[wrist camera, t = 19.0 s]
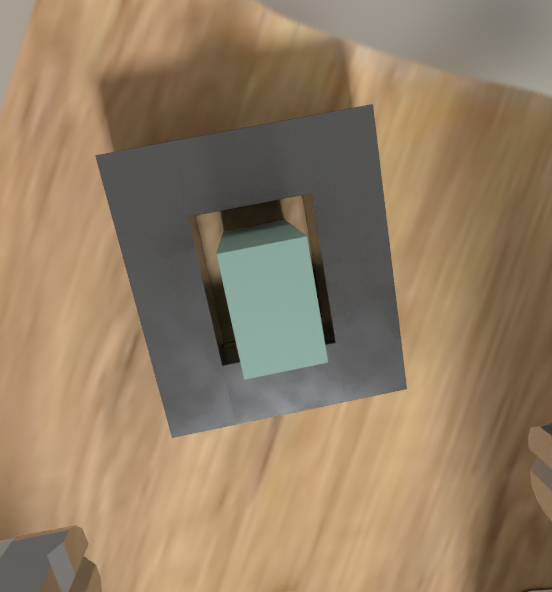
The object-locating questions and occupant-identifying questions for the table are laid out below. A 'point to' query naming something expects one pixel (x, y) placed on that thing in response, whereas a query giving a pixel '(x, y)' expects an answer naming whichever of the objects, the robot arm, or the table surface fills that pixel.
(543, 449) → the robot arm
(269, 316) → the sage green box
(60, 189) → the table surface
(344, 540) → the table surface
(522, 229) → the table surface
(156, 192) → the collar block
